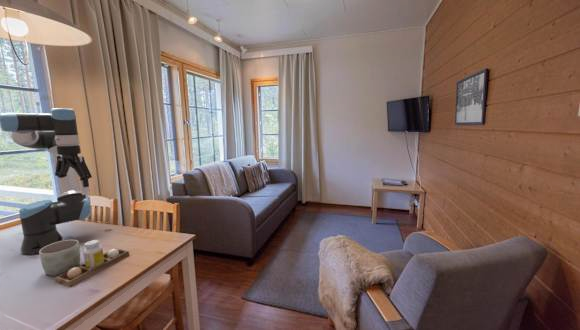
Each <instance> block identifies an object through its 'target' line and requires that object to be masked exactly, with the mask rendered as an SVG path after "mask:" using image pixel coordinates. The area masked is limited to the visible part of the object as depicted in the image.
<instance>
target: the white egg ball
mask: <svg viewBox="0 0 580 330" xmlns="http://www.w3.org/2000/svg"><path fill="white" fill-rule="evenodd" d="M117 249H118V248H117ZM117 249H115V248H111V249H109V251H107V252H108V253H107V252H106V253H107V256H108V258H110V259H113V258H115V257H117V256H118V255H119V251H118V250H117Z"/></svg>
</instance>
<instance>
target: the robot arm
mask: <svg viewBox="0 0 580 330" xmlns="http://www.w3.org/2000/svg"><path fill="white" fill-rule="evenodd" d="M77 125H78V123H77V116H76V111H75V110H74V109H73V108H64V107H60V108H59V107H55V108H54V107H53V108H51V109H50V113H29V112H28V113H27V112H26V113H25V112H2V113H0V127H1V130H2V131H3V132H9V133H10V132H11V133H10V137H11V140H12V141H13V142H14V143H16V144H17V145H19V146H21V147H25V148H29V149H32V150H33V149H34V150H41V149H43V150H44V149H45V150H46V149H47V151H48V153H50V154H52V158H53V162H54V163H53V164H54V168H55V171H54V175H55V176H56V178H57V184H58V190H59V194H60V195H59V196H57V198H56V200H57V201H54V202H53V200H51V199H45V200H39V201H36V202H31V203H28V204H26V205H24V206H22V207H21V208H19V211H18V212H19V213H18V214H19V218H18V219H19V220H20V222H21V228H22V229H21V230H22V233H23V239H22V243H21V246H20V251H21V255H28V256H29V255H30V256H32V255H40V254H39V251H40V250H41V249H42V248H43V247H45V246H47V245H50V244H52V243H55V242H59V241H64V239H63V236H62V235H61V234H60V232H59V231H58V229H57V225H61V224H65V223H69V222H71V223H72V222H74V221H80V220H83V219H88V218H89V217H90V215H91V198H90V196H88V195H89V194H91V191H90V182H89V179H91V178H92V177H93V176H92V174H91V172H90V169H89V167H88V165H87V164H86V160H85V157H84V156H79V154H81V153H82V151H81V145H79V144H80V139H79V133H78V132H79V131H78V127H77ZM86 195H87V196H86Z"/></svg>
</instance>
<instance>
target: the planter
mask: <svg viewBox="0 0 580 330" xmlns="http://www.w3.org/2000/svg"><path fill="white" fill-rule="evenodd" d="M38 255H39V258H40V262H41V266H42V269H43V271H44V273H45V274H46V275H48V276H59V275H61V274H63V273H65V272H67V271H69V270H70V269H71V268H74V267H78V266H80V263H81V250H80V241H79V240H78V239H65V240H64V239H63V241H59V242H55V243H52V244H50V245H47V246H45V247H43V248H42V249H41V250H40V251H39V254H38Z"/></svg>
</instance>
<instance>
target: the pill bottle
mask: <svg viewBox="0 0 580 330" xmlns="http://www.w3.org/2000/svg"><path fill="white" fill-rule="evenodd" d="M84 247H85V248H84V250H82V252H83V259H84V263H85V267H86V268H90V269H93V268H95V267H97V266H99V265H101V264H103V263H105V262H104V255H103V254H104V250H103V246H102V245H101V244H100V241H99V239H93V240H89V241H86V242H85V243H84Z"/></svg>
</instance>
